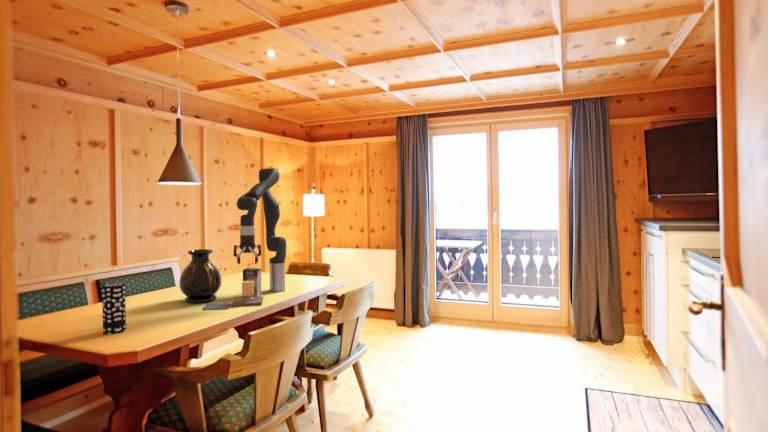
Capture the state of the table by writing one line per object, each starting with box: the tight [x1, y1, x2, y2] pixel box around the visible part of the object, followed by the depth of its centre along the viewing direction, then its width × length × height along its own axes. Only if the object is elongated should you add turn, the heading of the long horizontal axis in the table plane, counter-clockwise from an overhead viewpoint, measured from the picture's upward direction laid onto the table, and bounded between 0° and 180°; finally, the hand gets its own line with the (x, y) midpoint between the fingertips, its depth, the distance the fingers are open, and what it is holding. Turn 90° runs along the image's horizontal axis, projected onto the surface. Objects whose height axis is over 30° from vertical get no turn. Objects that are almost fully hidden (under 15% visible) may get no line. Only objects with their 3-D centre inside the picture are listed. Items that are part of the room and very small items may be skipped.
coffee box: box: [242, 267, 262, 297], centre depth 254 cm, size 9×6×16 cm
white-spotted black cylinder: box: [101, 282, 127, 335], centre depth 186 cm, size 8×8×20 cm
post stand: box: [231, 295, 264, 308], centre depth 238 cm, size 15×15×10 cm
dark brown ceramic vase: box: [178, 248, 222, 304], centre depth 243 cm, size 22×22×28 cm
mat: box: [202, 302, 232, 311], centre depth 229 cm, size 12×12×1 cm
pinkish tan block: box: [241, 280, 254, 297], centre depth 238 cm, size 6×6×7 cm
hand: (247, 263), depth 238 cm, fingers open, 8 cm apart
